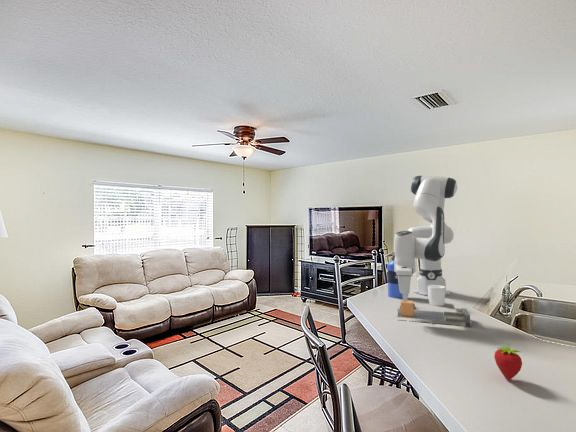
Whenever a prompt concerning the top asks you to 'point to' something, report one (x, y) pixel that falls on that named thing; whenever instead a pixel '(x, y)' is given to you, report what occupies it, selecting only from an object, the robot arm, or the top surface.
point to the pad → (413, 306)
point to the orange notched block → (407, 308)
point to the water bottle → (393, 280)
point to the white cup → (436, 295)
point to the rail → (441, 316)
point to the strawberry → (508, 362)
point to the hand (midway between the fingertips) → (405, 299)
